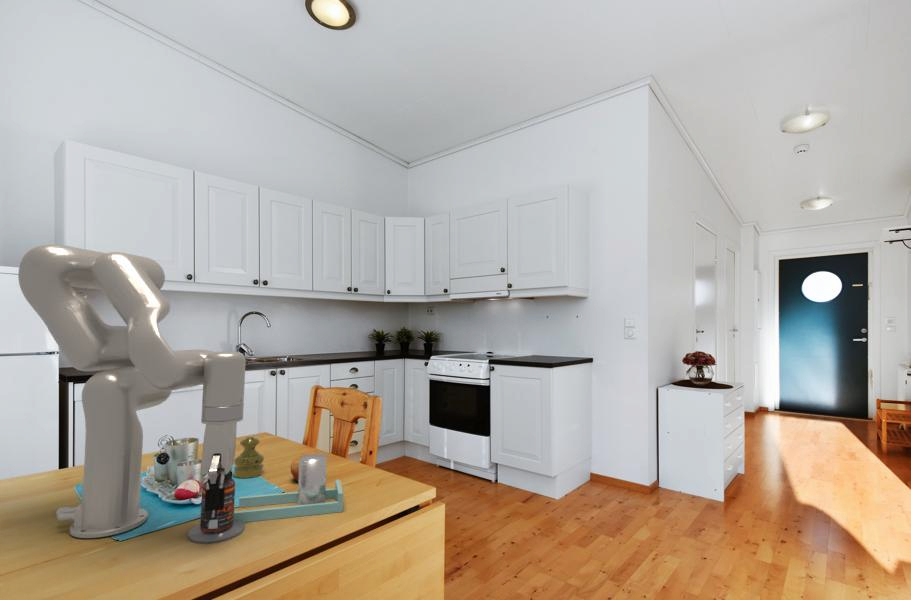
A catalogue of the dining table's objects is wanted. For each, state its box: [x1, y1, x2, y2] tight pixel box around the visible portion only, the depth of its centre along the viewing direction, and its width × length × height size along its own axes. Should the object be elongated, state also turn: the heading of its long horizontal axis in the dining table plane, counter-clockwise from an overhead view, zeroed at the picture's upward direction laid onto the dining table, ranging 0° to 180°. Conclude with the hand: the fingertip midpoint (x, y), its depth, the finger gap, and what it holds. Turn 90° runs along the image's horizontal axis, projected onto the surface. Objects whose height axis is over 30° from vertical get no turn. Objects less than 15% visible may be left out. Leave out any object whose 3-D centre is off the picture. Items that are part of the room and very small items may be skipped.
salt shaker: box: [233, 436, 265, 479], centre depth 126 cm, size 7×7×10 cm
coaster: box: [187, 520, 246, 544], centre depth 91 cm, size 10×10×1 cm
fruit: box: [290, 452, 317, 482], centre depth 123 cm, size 8×8×8 cm
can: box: [297, 453, 328, 505], centre depth 105 cm, size 6×6×11 cm
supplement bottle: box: [199, 469, 236, 533], centre depth 92 cm, size 6×6×11 cm
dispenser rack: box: [234, 479, 344, 523], centre depth 103 cm, size 22×10×4 cm, turn 108°
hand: (218, 500), depth 92 cm, fingers open, 9 cm apart
